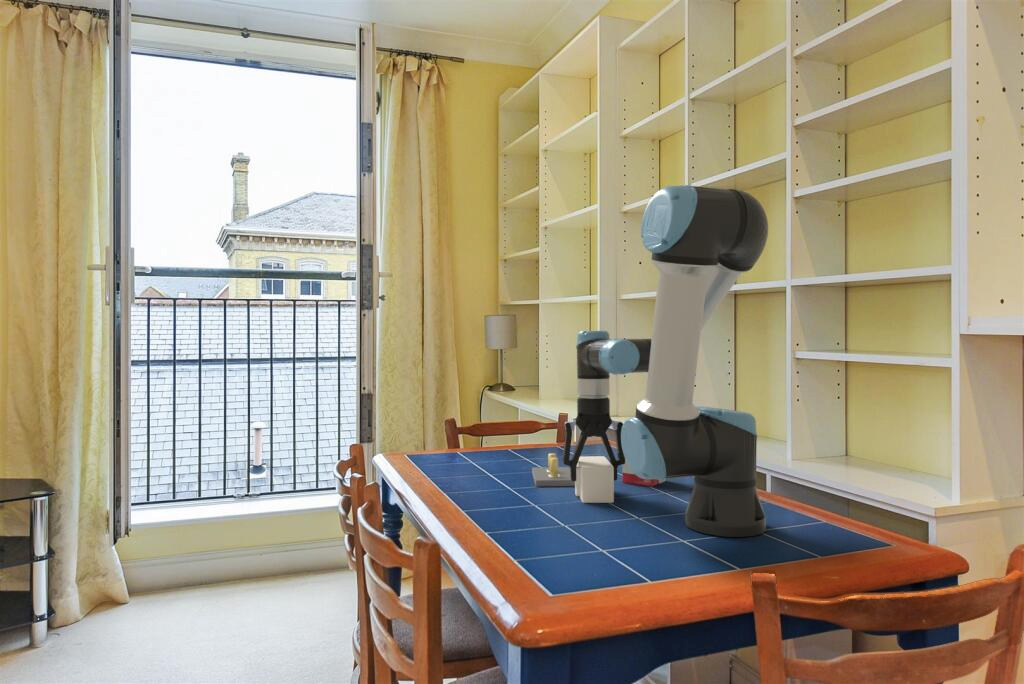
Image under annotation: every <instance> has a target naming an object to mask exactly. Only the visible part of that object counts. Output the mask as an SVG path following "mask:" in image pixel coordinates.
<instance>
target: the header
mask: <svg viewBox="0 0 1024 684" xmlns="http://www.w3.org/2000/svg"><path fill="white" fill-rule="evenodd" d="M547 455H548V456H547V461H548V464H547V465H548V467H540V466H539V467H536V466H535V467H531V470H532V471H531V474H532V477H533V481H534V485H535V487H536V488H537V487H575V481H572V480H571V472H570V466H566V467H565V466H562V467H561V466H559V458H558V457H557V454H556V453H548V454H547Z"/></svg>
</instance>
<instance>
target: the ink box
mask: <svg viewBox="0 0 1024 684" xmlns="http://www.w3.org/2000/svg"><path fill="white" fill-rule="evenodd" d="M621 478H622V481H621V482H622V483H624V484H631V485H639V486H643V487H644V486H645V487H655V486H657V485H659V484H662V483H665V482H666V480H667V479H664V480H657V479H642V478H640V477H638V476H637V475H635V474H634V473H633V472H632V470H631V469H630V467H629V466H628V464H627V461H626V459H625V464H622V477H621Z"/></svg>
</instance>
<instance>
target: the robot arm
mask: <svg viewBox="0 0 1024 684" xmlns="http://www.w3.org/2000/svg"><path fill="white" fill-rule="evenodd" d="M641 220H642V221H641V226H640V227H641V228H640V236H641V237H642V245H643V246H644V247H645V249H646V250H647V251H648V252H650V253H651V260H650V261H651V262H652V264H653V265H654V266H655V267H656V269H657V271H658V275H657V285H656V292H655V293H656V295H655V304H654V313H653V322H652V332H651V333H652V334H651V338H610V334H609V332H608V331H607V330H581V331H579V332H578V333H577V336H576V337H577V338H576V374H577V375H576V376H577V378H576V380H577V386H576V387H577V389H576V390H577V391H576V394H577V395H578V396H579V397H578V398H577V400H576V402H577V405H576V407H577V408H576V409H577V410H576V412H577V414H576V415H577V416H576V418H575V419H574V420H572V421H564V429H565V434H564V435H565V437H564V446H563V454H562V463H563V464H564V466H567V467H569V468H570V472H571V480H572V481H575V486H574V492H575V493H574V494H575V496H576V497H579V496H580V468H579V466H577V463H578V460H579V458H580V457H581V455H582V452H583V449H584V446H585V444H586V442H587V440H588V438H592V437H597V438H600V439H601V442H602V444H603V447H604V449H605V452H606V455H607V457H608V461H609V462H610V463H611V465H612V466H613V467H614V482H615V481H617V480H618V468H619V466H621V465H623V464H625V459H626V461H627V464H628V466H629V467H630V469H631V470H632V472H633V473H634V474H635V475H637V476H638V477H640V478H642V479H657V480H664V479H666V480H667V479H677V478H687V477H694V478H693V479H694V483H693V488H692V492H691V494H690V497H689V500H688V503H687V507H686V509H685V512H684V515H685V519H684V521H685V525H686V527H688V528H689V529H691V530H693V531H695V532H698V533H702V534H705V535H711V536H712V535H713V536H718V537H726V538H741V537H742V538H745V537H754V536H758V535H762V534H764V533H765V532H766V530H767V518H766V514H765V511H764V508H763V505H762V503H761V499H760V496H759V494H758V493H759V492H758V489H757V444H758V443H757V440H758V439H757V438H758V433H757V423H756V422H757V420H756V418H755V417H754V416H753V415H752V414H751V413H750V412H745V411H740V410H734V409H727V408H726V409H725V408H720V407H719V408H718V407H710V406H695V404H694V403H693V402H694V401H693V399H694V392H695V383H696V377H697V375H696V374H697V373H696V372H697V366H698V358H699V352H700V351H699V349H700V342H701V336H702V335H701V334H702V330H703V329H704V328H705V326H706V325H707V323H708V322H709V321H710V319H711V318H712V316H713V314H714V313H715V312H716V311H717V309H718V307H720V305H721V304H722V302H723V300H725V298H726V296H727V294H728V293H729V292H730V291H731V289H732V287H733V286H734V285H735V283H736V282H737V281H738V279H739V277H741V275H742V273H747V272H749V271H751V270H752V269H753V267H754V266H755V264H756V263H757V262H758V260H759V259H760V257H761V255H762V254H763V251H764V250H765V247H766V245H767V241H768V235H769V221H768V217H767V214H766V210H765V209H764V207H763V205H762V204H761V202H760V201H759V200H758V199H757V198H756V197H754V196H753V195H752V194H751V193H749V192H746V191H744V190H741V189H734V188H727V189H726V188H719V187H718V188H717V187H706V186H705V187H703V186H695V185H688V184H686V185H669V186H664V187H662V188H660V189H659V190H658V191H656V193H654V194H653V196H652V198H651V199H650V200H649V201H648V203H647V205H646V207H645V209H644V212H643V216H642V219H641ZM634 373H635V374H638V373H639V374H640V373H641V374H642V373H647V379H646V391H645V397H644V398H643V399H641V400H640V401H639V402H637V404H636V407H635V416H631V417H629V418H627V419H626V420H625V421H624V423H623V422H622V421H620V420H613V419H612V418H611V414H610V412H611V410H610V409H611V407H610V406H611V405H610V403H611V401H610V400H611V399H610V397H608V396H610V394H611V393H610V386H611V385H610V374H612V375H616V376H617V375H625V374H634ZM576 426H577V427H578V429H579V430H580V434H579V437H578V441H577V444H576V446H575V449H574V451H573V454H572V458H571V459H570V455H571V448H572V439H573V437H572V436H573V431H575V427H576ZM611 426H612V429H613V430H614V436H615V443H616V444H615V445H616V446H615V447H616V451H617V459H616V456H615V454H614V452H613V448H612V446H611V443H610V441H609V437H608V435H607V431H608V429H609V428H610V427H611Z"/></svg>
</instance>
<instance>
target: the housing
mask: <svg viewBox="0 0 1024 684" xmlns="http://www.w3.org/2000/svg"><path fill="white" fill-rule="evenodd" d="M577 466H579V468H580V496H578V497H579V498H580V500H581V503H583V504H588V503H589V504H592V503H593V504H598V503H599V504H600V503H602V504H603V503H604V504H605V503H609V504H610V503H615V502H614V501H615V500H614V499H615V496H614V495H615V488H614V483H615V481H614V467H613V466H612V465H611V463H610V460H609V459H608V458H607V457H605V456H604V455H602V456H601V455H598V456H597V455H596V456H593V455H592V456H588V455H587V456H580V458H579V460H578V463H577Z"/></svg>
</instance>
